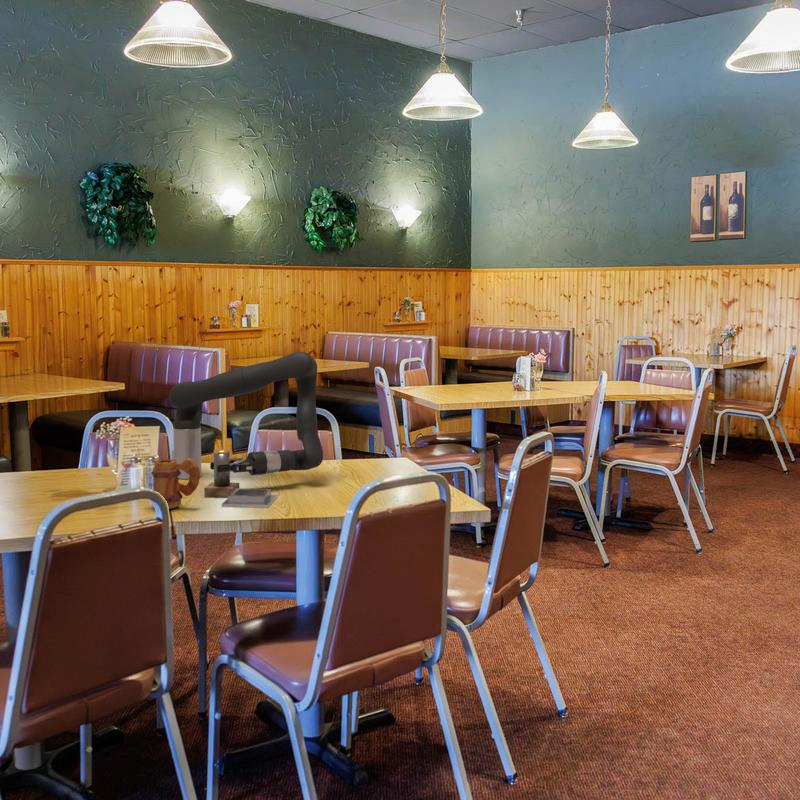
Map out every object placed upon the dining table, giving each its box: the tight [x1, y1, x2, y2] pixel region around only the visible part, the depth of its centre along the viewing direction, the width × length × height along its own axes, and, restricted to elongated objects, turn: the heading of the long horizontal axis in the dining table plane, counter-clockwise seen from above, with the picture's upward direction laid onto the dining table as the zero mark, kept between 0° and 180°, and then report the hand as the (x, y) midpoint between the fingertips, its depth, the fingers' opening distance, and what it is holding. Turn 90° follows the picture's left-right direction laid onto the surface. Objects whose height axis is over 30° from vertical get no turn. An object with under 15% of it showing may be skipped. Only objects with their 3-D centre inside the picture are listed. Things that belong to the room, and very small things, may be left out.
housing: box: [221, 488, 278, 509], centre depth 275 cm, size 14×14×3 cm
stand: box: [203, 481, 240, 499], centre depth 285 cm, size 9×9×3 cm
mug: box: [150, 458, 201, 510], centre depth 265 cm, size 15×8×15 cm, turn 82°
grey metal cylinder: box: [213, 448, 231, 487], centre depth 284 cm, size 5×5×11 cm
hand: (214, 467), depth 283 cm, fingers closed on grey metal cylinder, 5 cm apart
